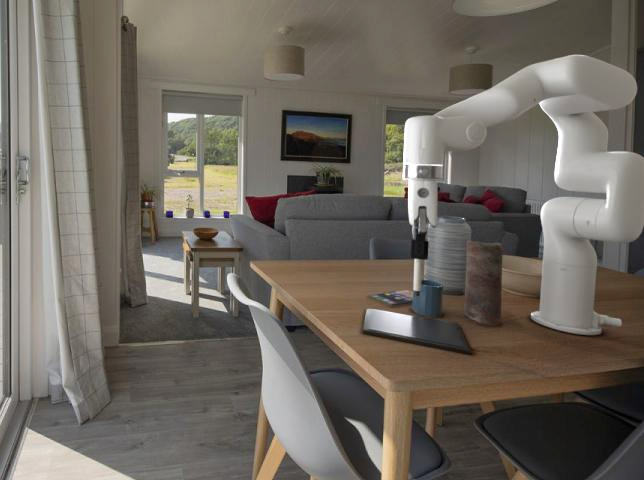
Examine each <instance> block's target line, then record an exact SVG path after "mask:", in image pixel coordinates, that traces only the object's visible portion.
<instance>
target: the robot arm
mask: <svg viewBox="0 0 644 480" xmlns="http://www.w3.org/2000/svg"><path fill="white" fill-rule="evenodd" d="M637 93H638V84H637V81H636V79H635V77H634V76H633V75H632V74H631V73H630V72H628V71H627V70H625V69H623V68H621V67H619V66H616V65H614V64H612V63H609V62H606V61H604V60H601V59H598V58H596V57H592V56H588V55H585V54H584V55H583V54H570V55H565V56H562V57H557V58H552V59H549V60H544V61H539V62H536V63H532V64H530V65H529V64H528V65H527V66H525V67H523V68H521V69H519V70H518V71H516V72H515V73H513V74H512V75H510V76H508V77H507V78H505V79H503V80H502V81H500V82H499V83H497V84H495V85H494V86H492V87H490V88H488V89H487V90H484V91H482V92H479V93H477V94H474V95H472V96H470V97H468V98H466V99H463V100H461V101H459V102H457V103H455V104H451V105H450V106H447V107H445V108H443V109H442V110H440V111H437V112H436V113H434V114H433V115H417V116H416V115H415V116H412V117H409V118H408V119H407V120H406V121H405V123H404V133H403V134H404V138H403V157H402V159H403V161H402V162H403V163H402V164H403V165H402V181H408V186H407V187H408V190H407V213H408V214H407V215H408V222H409V225H411V226H412V227H411V238H410V250H409V255H410V258H411V259H414V260H415V259H422V261H423V260H424V261H425V260H427V259H428V245H429V241H428V229H429V228H428V226H429V224H430V225H431V226H432V227H433V228H436V227H437V216H438V194H439V193H438V192H439V191H438V182H443V180H444V159H445V158H444V156H445V152H466V151H471V150H473V149H476V148H479V147H480V146H481V145H482V144H483V143H484V142H485V140H486V138H487V135H488V131H487V128H490V127H494V126H498V125H501V124H504V123H507V122H511V121H513V120H515V119H517V118H518V117H519V116H521V115H523V114H524V113H526V112H527V111H529V110H530V109H532V108H533V107H535V106H537V105H538V104H539V106H540V108H541V110H542V111H543V112H544V113H545V114H546V115H547V116H548V117H549V118H550V120H551V121H552V122H553V124H554V125H555V127H556V129H557V132H558V144H557V145H558V146H557V153H556V159H555V166H554V182H555V184H556V186H557V187H558V188H559V189H562V190H565V191H568V192H569V191H570V192H579V193H581V192H582V193H594V194H595V193H596V194H606V198H605V199H603V198H594V197H581V196H558V197H553V198H550V199H549V200H547V201H546V202H545V203H544V204H543V205H542V207H541V209H540V221H541V222H540V224H541V228H542V233H543V254H542V267H541V268H542V270H541V281H540V282H541V283H540V297H539V298H540V299H539V310H538V311H537V310H536V311H533V312H531V313H530V319H531V320H532V321H534V322H535V323H537V324H539V325H541V326H544V327H547V328H550V329H553V330H557V331H560V332H563V333H569V334H574V335H582V336H597V335H598V336H599V335H601V334H602V331H603V329H602V326H604V325H606V326H610V327H615V328H622V326H623V322H622V319H621V318H618V317H617V318H616V317H612V316H611V317H610V316H608V315H606V314H599V313H598V312H596V311H595V310H594V307H595V295H596V283H597V270H598V269H597V267H598V255H597V252H596V250H595V248H594V246H593V245H592V244H591V242H590V240H593V241H599V242H600V241H601V242H607V243H613V244H629V243H631V242H632V243H633V242H634V241H636V240H637V239H638V238H639V237H640V236H641V234H642V232H643V229H644V156H642V155H641V154H638V153H636V152H632V151H608V143H609V130H608V128H607V126H606V124H605V123H604V121H602V119H601V118H599V116H598V115H596V114H595V112H604V111H614V110H619V109H621V108H624V107H626V106H628V105H630V104H631V103H632V101H634V99H635V97H636V96H637Z"/></svg>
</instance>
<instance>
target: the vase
mask: <svg viewBox="0 0 644 480" xmlns="http://www.w3.org/2000/svg"><path fill="white" fill-rule="evenodd" d="M428 228H429V229H428V241H429V245H428V259H427V260H424V267H423V279H424V280H431V281H436V282H439V283H441V284H443V295H455V296H456V295H461V294H462V292H465V286H466V265H467V241H472V228H471V226H470V225H469V223H467V218H465V217H461V216H454V215H453V216H452V215H437V227H436V228H433V227H432V226H431V225H430V224H429V226H428Z"/></svg>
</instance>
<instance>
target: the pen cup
mask: <svg viewBox="0 0 644 480" xmlns="http://www.w3.org/2000/svg"><path fill="white" fill-rule="evenodd" d="M413 284H414V279H413V281H412V285H413ZM412 291H413V298H412V303H411V310H412V311H413V312H415V313H416V314H420V315H423V316H427V317H440V316H442V315H443V300H444V299H443V298H444V293H443V284H441V283H439V282H436V281H431V280H424V278H422V282H421V291H419V296H415V290H413V289H412Z"/></svg>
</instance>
